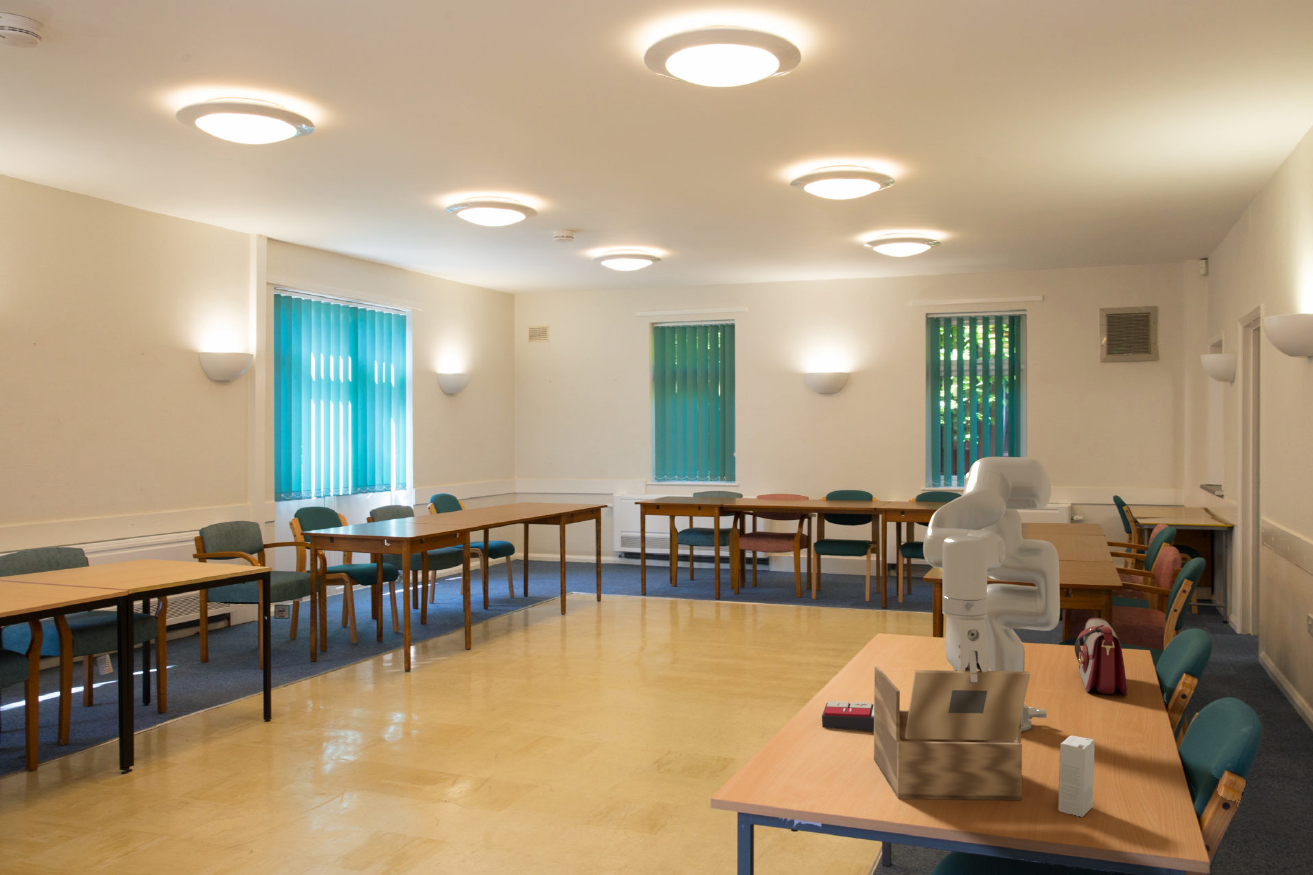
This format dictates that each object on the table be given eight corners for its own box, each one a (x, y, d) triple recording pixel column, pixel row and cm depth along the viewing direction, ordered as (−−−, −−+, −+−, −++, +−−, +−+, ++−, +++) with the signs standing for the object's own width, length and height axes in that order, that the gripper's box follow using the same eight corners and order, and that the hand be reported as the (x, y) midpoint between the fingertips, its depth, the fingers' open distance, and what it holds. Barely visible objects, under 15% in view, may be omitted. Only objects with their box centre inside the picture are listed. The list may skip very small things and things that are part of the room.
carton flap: (1029, 671, 159) (1030, 674, 158) (1014, 737, 166) (1016, 740, 165) (914, 670, 159) (915, 672, 159) (904, 736, 166) (905, 739, 165)
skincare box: (1067, 801, 165) (1068, 733, 165) (1094, 807, 162) (1095, 739, 162) (1057, 811, 160) (1057, 742, 160) (1084, 818, 157) (1085, 747, 157)
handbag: (1072, 670, 258) (1073, 608, 258) (1114, 673, 255) (1114, 610, 255) (1082, 696, 232) (1082, 627, 232) (1129, 701, 228) (1129, 630, 228)
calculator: (826, 699, 216) (892, 701, 212) (827, 717, 216) (893, 720, 212) (821, 712, 206) (890, 714, 202) (822, 731, 206) (891, 734, 202)
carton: (984, 760, 185) (985, 666, 185) (1022, 800, 165) (1023, 694, 165) (872, 759, 186) (873, 664, 186) (896, 798, 166) (897, 692, 166)
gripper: (1000, 615, 156) (1000, 723, 157) (972, 596, 171) (972, 694, 172) (955, 616, 156) (955, 723, 157) (931, 597, 171) (931, 694, 172)
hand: (964, 707), depth 164 cm, fingers closed
